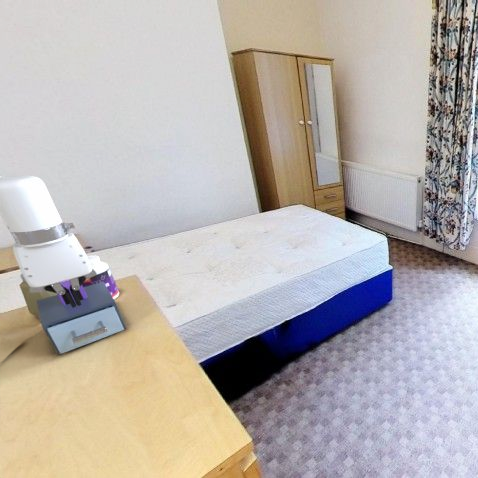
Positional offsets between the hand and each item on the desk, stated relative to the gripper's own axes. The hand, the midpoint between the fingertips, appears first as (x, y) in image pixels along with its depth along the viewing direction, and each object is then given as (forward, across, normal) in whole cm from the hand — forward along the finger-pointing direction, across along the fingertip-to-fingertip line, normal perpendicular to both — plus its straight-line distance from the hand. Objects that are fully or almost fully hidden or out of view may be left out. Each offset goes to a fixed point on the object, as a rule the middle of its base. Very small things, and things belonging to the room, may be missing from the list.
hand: (76, 304), depth 76 cm
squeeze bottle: (+14, +5, -27) cm, 31 cm away
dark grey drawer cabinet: (+14, 0, -12) cm, 18 cm away
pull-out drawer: (+13, 0, -7) cm, 15 cm away
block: (+5, 0, -14) cm, 15 cm away
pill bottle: (+14, -5, -27) cm, 31 cm away
